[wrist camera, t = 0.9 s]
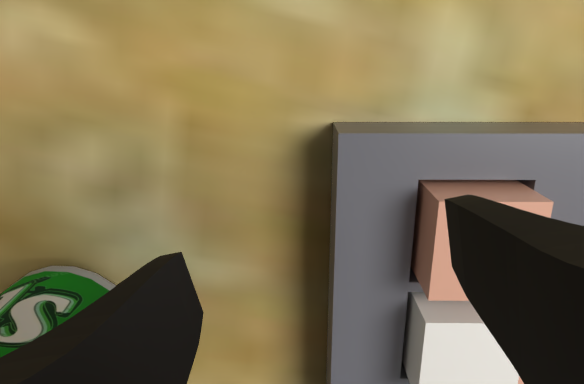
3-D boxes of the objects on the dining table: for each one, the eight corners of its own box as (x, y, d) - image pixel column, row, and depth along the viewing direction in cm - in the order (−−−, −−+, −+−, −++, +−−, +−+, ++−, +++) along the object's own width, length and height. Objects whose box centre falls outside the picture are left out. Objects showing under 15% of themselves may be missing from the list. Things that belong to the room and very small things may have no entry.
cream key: (482, 354, 23) (513, 405, 20) (399, 353, 23) (416, 404, 20) (494, 282, 22) (529, 323, 18) (406, 281, 22) (425, 322, 18)
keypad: (517, 443, 27) (545, 493, 24) (324, 440, 27) (327, 490, 24) (583, 122, 21) (633, 134, 17) (333, 122, 21) (338, 134, 18)
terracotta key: (497, 262, 21) (533, 301, 18) (408, 261, 21) (428, 300, 18) (511, 176, 20) (553, 202, 17) (415, 176, 20) (439, 201, 17)
